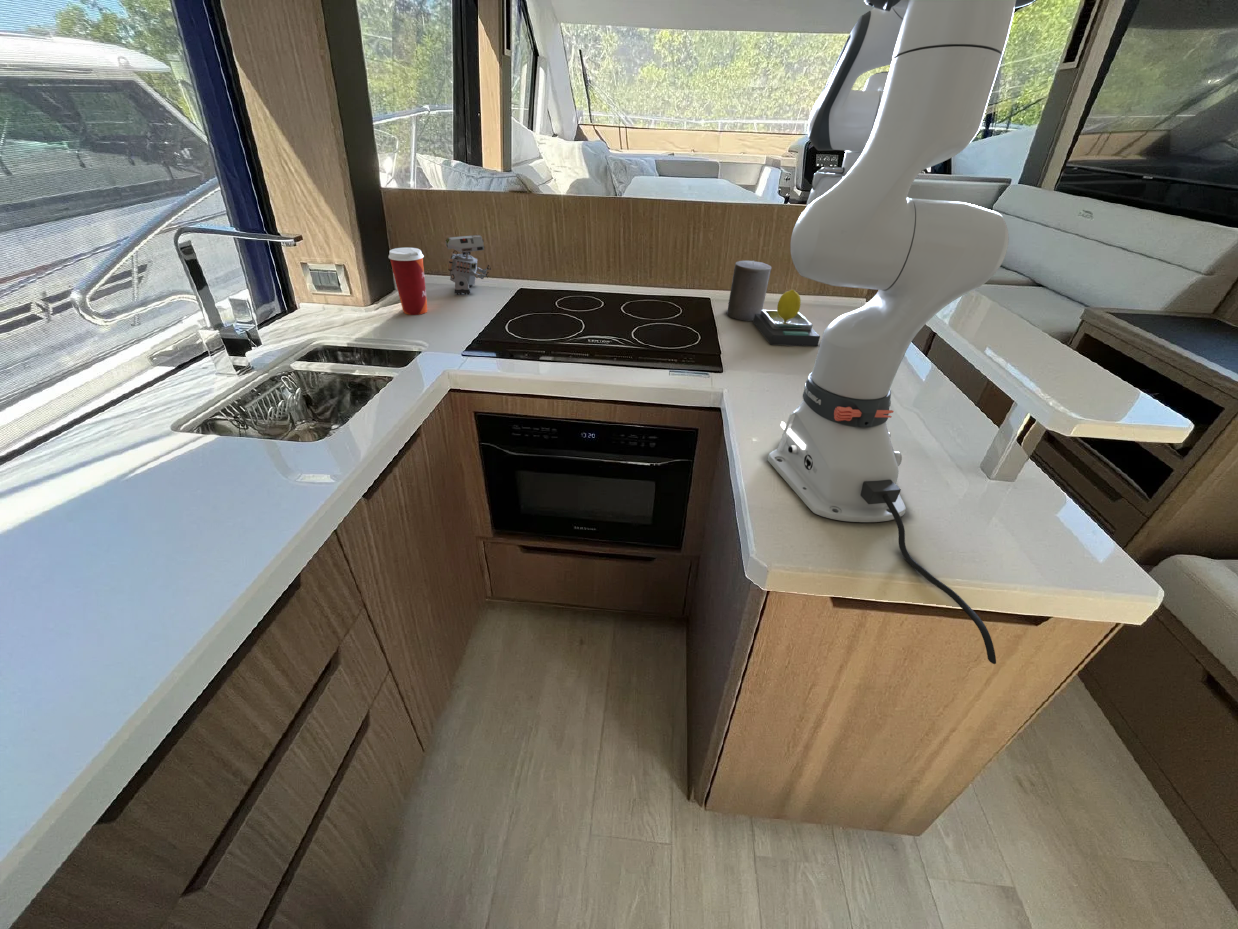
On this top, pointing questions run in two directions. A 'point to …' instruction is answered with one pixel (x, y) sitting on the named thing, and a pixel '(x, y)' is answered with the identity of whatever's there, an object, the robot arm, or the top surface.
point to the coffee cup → (409, 279)
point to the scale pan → (779, 324)
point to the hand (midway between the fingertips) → (844, 238)
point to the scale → (786, 335)
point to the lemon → (789, 305)
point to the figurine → (465, 262)
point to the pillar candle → (748, 289)
